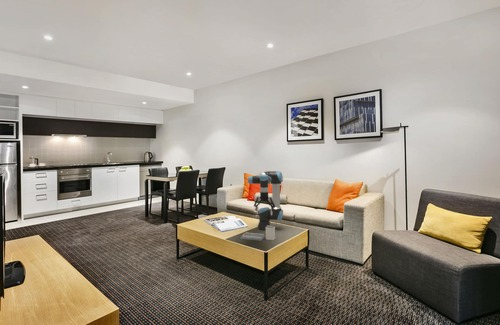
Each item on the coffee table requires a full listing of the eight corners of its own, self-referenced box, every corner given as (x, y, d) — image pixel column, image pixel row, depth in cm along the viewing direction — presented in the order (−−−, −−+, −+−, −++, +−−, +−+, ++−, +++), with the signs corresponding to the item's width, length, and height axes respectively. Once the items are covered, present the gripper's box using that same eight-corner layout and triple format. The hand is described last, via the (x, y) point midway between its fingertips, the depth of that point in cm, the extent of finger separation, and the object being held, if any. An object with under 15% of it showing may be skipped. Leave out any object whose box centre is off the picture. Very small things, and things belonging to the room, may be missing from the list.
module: (267, 237, 260) (267, 225, 260) (274, 238, 258) (274, 225, 257) (265, 239, 254) (265, 226, 254) (273, 240, 252) (273, 227, 251)
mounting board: (245, 234, 273) (245, 231, 272) (265, 235, 266) (265, 233, 266) (240, 238, 257) (240, 236, 257) (261, 240, 251) (261, 238, 250)
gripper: (250, 191, 241) (250, 214, 241) (276, 192, 233) (276, 216, 234) (252, 190, 248) (252, 212, 249) (278, 191, 240) (278, 214, 241)
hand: (264, 214), depth 241 cm, fingers open, 13 cm apart
